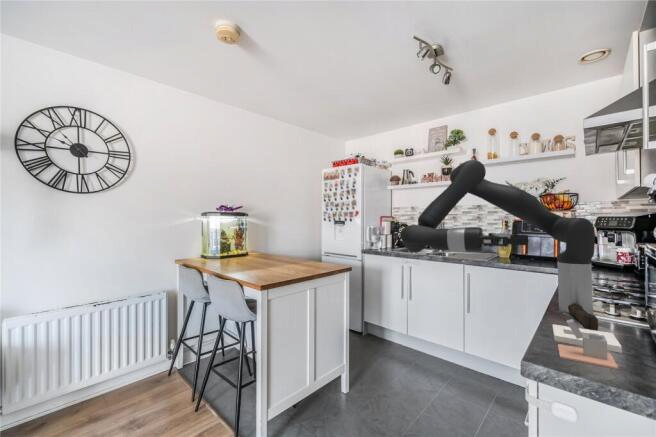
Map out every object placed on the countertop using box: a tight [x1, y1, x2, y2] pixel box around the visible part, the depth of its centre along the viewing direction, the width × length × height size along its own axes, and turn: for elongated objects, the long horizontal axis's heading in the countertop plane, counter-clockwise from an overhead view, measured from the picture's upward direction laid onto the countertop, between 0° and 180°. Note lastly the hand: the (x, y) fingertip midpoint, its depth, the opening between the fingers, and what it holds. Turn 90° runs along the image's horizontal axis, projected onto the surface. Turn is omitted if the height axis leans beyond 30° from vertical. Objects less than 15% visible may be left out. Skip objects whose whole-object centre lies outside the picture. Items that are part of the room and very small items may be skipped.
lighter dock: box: [552, 324, 623, 354], centre depth 79 cm, size 10×13×2 cm
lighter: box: [566, 318, 608, 360], centre depth 69 cm, size 7×2×8 cm, turn 54°
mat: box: [557, 343, 619, 370], centre depth 69 cm, size 8×10×1 cm
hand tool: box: [568, 304, 599, 331], centre depth 91 cm, size 19×4×5 cm, turn 151°
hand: (528, 239), depth 81 cm, fingers open, 8 cm apart
